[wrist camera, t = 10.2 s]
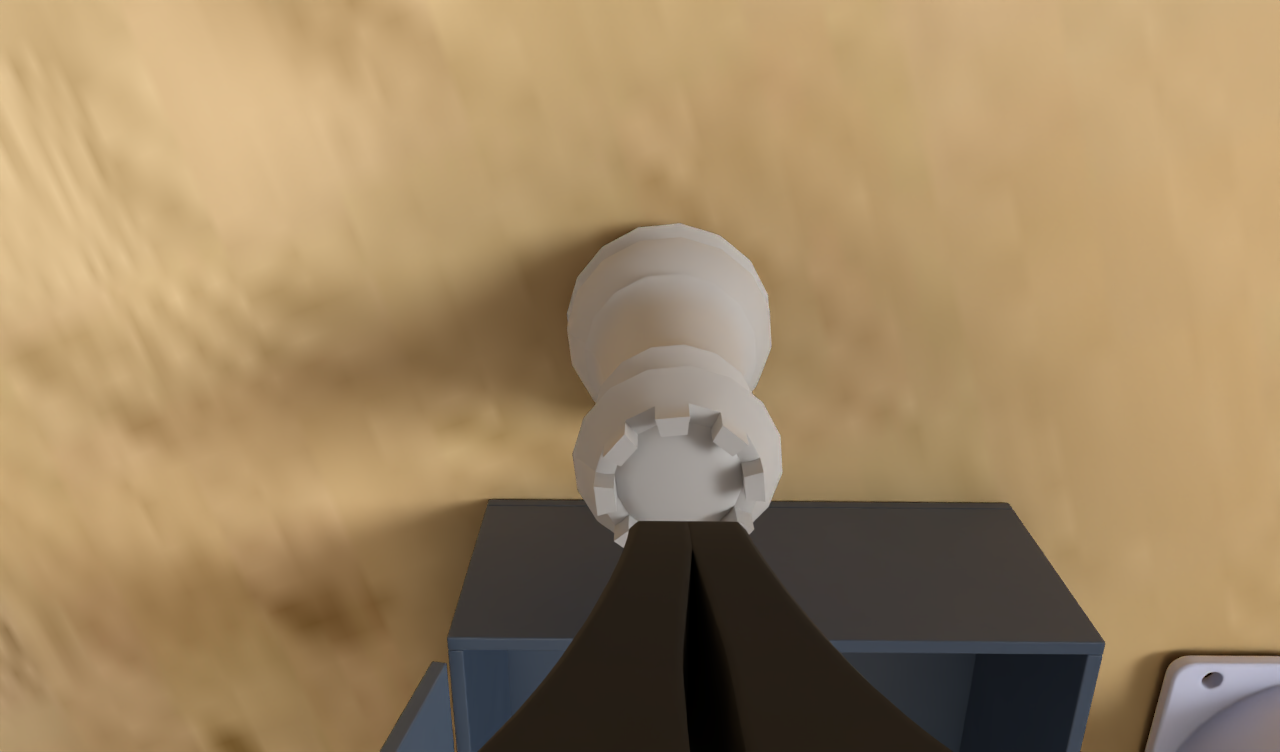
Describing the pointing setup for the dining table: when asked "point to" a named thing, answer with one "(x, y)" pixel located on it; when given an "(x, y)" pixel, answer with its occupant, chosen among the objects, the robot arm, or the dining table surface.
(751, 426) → the rook chess piece
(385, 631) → the dining table surface
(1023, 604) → the carton
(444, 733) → the flap
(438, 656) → the dining table surface
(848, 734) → the robot arm
